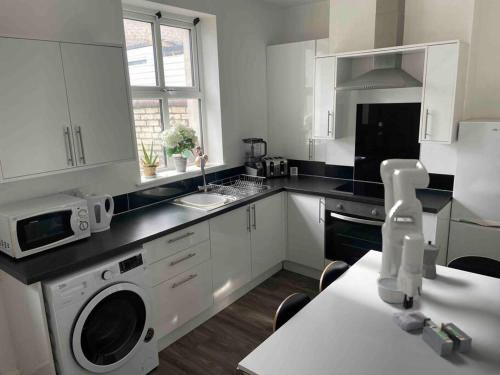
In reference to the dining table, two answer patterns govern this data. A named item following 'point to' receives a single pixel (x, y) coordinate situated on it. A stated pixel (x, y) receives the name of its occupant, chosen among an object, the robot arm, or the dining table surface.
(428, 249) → the coffeepot
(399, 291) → the ramekin
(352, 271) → the dining table surface
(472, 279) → the dining table surface
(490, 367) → the dining table surface
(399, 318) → the stone block
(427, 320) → the bar with dark endcap
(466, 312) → the dining table surface
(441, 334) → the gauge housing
